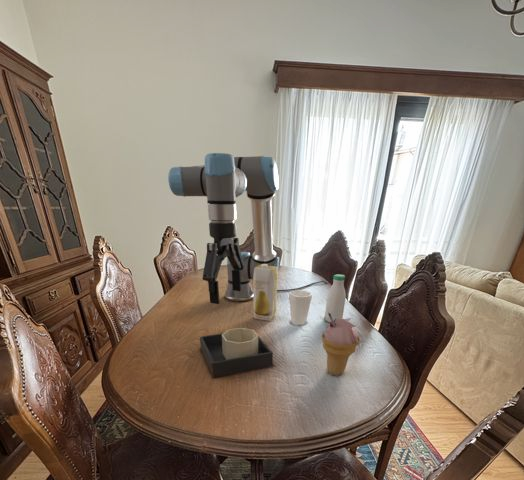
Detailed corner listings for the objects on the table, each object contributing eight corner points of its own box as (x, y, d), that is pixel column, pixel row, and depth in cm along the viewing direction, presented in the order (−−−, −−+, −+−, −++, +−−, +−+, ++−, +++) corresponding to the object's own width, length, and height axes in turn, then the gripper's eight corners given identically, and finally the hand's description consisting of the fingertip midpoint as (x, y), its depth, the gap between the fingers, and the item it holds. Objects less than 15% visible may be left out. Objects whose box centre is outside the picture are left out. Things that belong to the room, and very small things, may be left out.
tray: (252, 340, 109) (252, 328, 107) (272, 366, 93) (273, 352, 91) (201, 349, 103) (199, 336, 100) (213, 377, 87) (212, 363, 84)
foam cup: (311, 320, 128) (313, 291, 122) (307, 327, 120) (309, 298, 114) (290, 317, 131) (292, 289, 125) (285, 324, 123) (286, 295, 117)
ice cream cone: (333, 385, 84) (342, 322, 74) (310, 367, 92) (317, 309, 83) (360, 376, 88) (373, 315, 79) (337, 360, 97) (346, 303, 87)
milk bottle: (342, 324, 124) (349, 278, 115) (324, 322, 126) (330, 277, 116) (341, 317, 131) (348, 273, 122) (324, 316, 132) (329, 272, 123)
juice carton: (251, 319, 128) (251, 264, 117) (258, 313, 135) (258, 261, 123) (271, 322, 125) (273, 266, 114) (277, 316, 132) (279, 262, 120)
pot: (216, 338, 90) (247, 345, 86) (233, 326, 99) (262, 331, 95) (217, 360, 94) (247, 367, 90) (234, 346, 103) (262, 352, 99)
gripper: (232, 218, 90) (234, 284, 100) (183, 224, 70) (192, 307, 80) (254, 219, 87) (254, 287, 97) (209, 226, 67) (215, 311, 77)
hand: (226, 296), depth 89 cm, fingers open, 13 cm apart
